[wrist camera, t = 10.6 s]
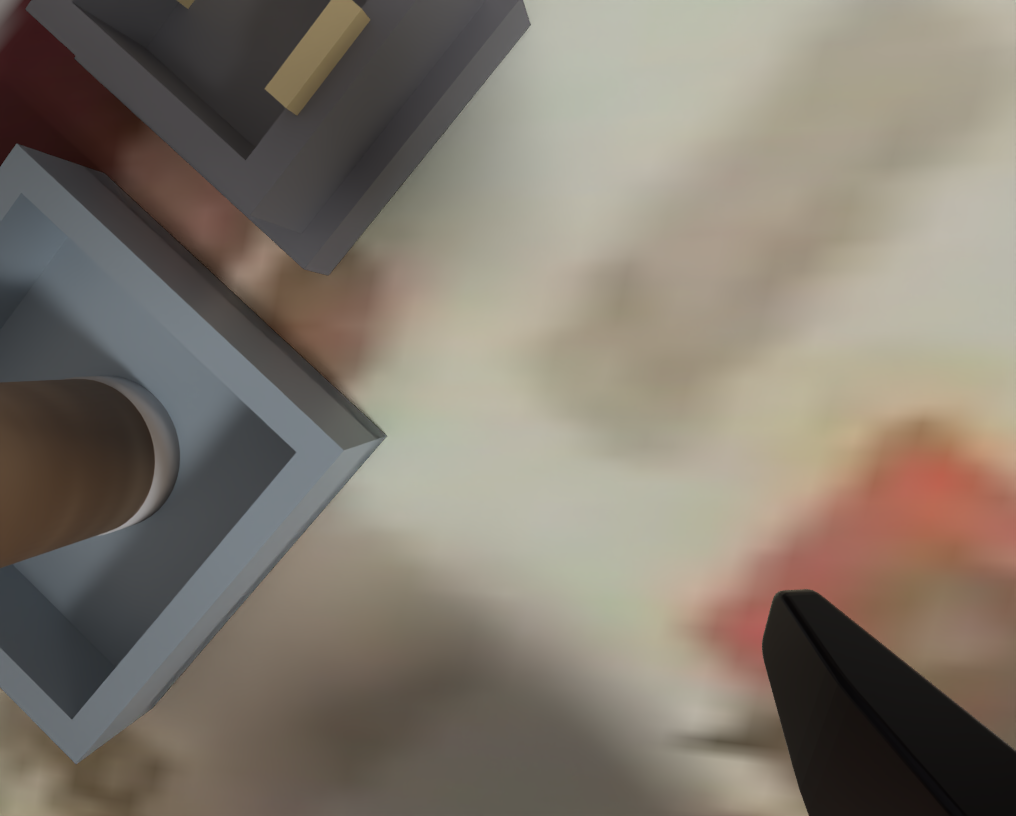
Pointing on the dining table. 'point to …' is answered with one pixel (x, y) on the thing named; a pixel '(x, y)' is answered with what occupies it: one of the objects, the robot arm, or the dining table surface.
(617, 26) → the dining table surface
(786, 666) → the robot arm
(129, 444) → the peg
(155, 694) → the tray
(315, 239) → the socket block
